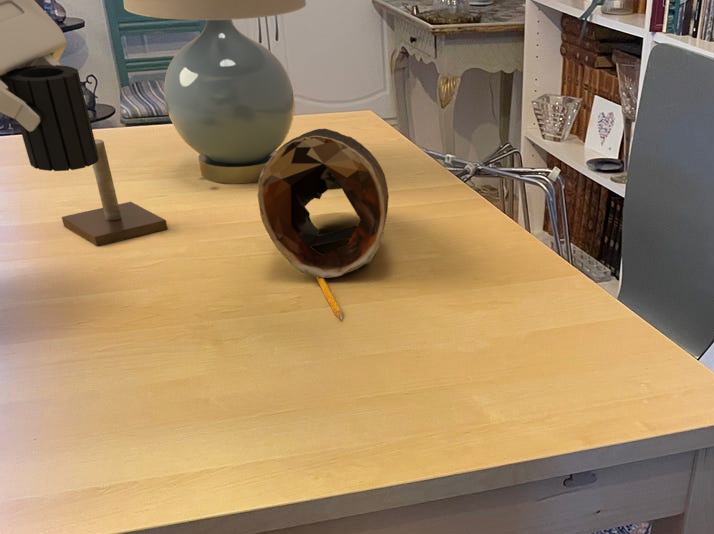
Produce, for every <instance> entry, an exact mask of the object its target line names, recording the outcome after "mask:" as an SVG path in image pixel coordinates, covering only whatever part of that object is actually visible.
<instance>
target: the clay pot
mask: <svg viewBox="0 0 714 534" xmlns="http://www.w3.org/2000/svg"><path fill="white" fill-rule="evenodd" d="M275 151H276V152H275V153H274V155H273V156H272V157H271V158H270V160H269V161H268V162H267V164H266V165H265V166H264V168H263V170H262V173H261V175H260V178H259V181H258V182H257V183H258V190H257V200H258V209H259V214H260V219H261V221H262V224H263V226H264V228H265V230H266V233H267V234H268V236H269V238H270V239H271V241H272V243H273V244H274V246H275V247H276V249H277V250H278V251H279V252H280V253H281V254H282V255H283V256H284V258H286V259H287V261H288V262H289V263H290V264H291V266H293V267H294V268H295V269H296V270H298V271H299V272H301V273H303V274H307V275H310V276H313V277H315V276H318V277H323V279H325V278H326V279H327V278H329V279H330V278H338V277H340V276H343V275H345V274H348V273H350V272H353V271H355V270H358V269H359V268H361V267H364V266H367V265H369V264H370V263H371V261H372V259H373V258H374V256H375V254H376V253H377V252H378V250H379V248H380V246H381V243H382V241H383V237H384V233H385V232H384V230H385V226H386V221H387V216H388V211H389V197H390V196H389V187H388V183H387V178H386V174H385V172H384V170H383V168H382V166H381V164H380V163H379V161H378V160H377V158H376V157H375V156H374V155H373V154H372V152H371V151H370V150H369V149H367V147H365V146H364V145H363V144H362V143H360V142H359V141H358V140H356V139H355V138H353V137H352V136H347V135H346V134H342V133H340V132H338V131H335V130H332V129H328V128H317V129H313V130H309V131H307V132H305V133H303V134H300V135H299V136H297V137H294V138H292V139H290V140H289V141H287V142H285V143H284V144H282V145H281V146H280V147H278V148H277V149H276V150H275ZM333 190H342V192H343V193H344V195H345V197H346V198H347V200H348V201H349V202H348V203H350V205H351V207H352V209H353V210H354V213H356V215H357V217H358V218H359V221H358V223H357V225H353V226H350V227H345V228H342V229H338V230H333V231H330V232H326V233H322V234H319V231H320V230H319V228H318V227H317V226H316V225H314V223H313V222H312V220H311V217H310V215H311V213H310V212H309V210H308V209H307V207H306V206H307V205H309V204H310V202H311V201H313V200H314V199H317V200H320V199H321V198H322V196H323V195H324V194H325V193H326V192H328V191H333ZM346 239H347V240H348V239H349V240H348V242H347V243H345V244H344V245H342V246H340V247H339V248H337V249H334V250H331V251H329V252H326V253H324V254H322V253H321V252H320V251H317V249H315V248H313V247H315V246H321V245H325V244H329V243H334V242H337V241H341V240H346Z"/></svg>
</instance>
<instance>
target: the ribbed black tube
mask: <svg viewBox="0 0 714 534" xmlns="http://www.w3.org/2000/svg"><path fill="white" fill-rule="evenodd" d="M5 78H6V81H7V85H8V91H9V92H11V93H12V94H14V95H15V96H17V97H18V98H20V99H21V100H23V101H24V102H26V103H27V102H31V103H33V104H34V105H35V106H36V107H37V109H38V110H40V111H41V112H42V113H43V114H44V116H45V119H44V121H43V122H42V124H41V126H40V127H39V128H37V129H35V130H34V131H31V132H30V131H28V130H27V129H25V128H24V127H23V126H22V125H21V124H20V123H19V122H18V121H17V123H18V126H19V130H20V133H21V137H22V140H23V143H24V147H25V150H26V154H27V158H28V161H29V164H30V167H32V168H33V169H38V170H40V171H46V172H47V171H48V172H51V171H54V172H68V171H69V170H71V171H75V170H80V169H85V168H86V167H90V166H93V164H95V163H96V162H98V159H99V156H98V152H97V148H96V143H95V140H96V139H95V135H94V132H93V127H92V123H91V119H90V115H89V110H88V107H87V102H86V99H85V94H84V89H83V85H82V81H81V78H80V74H79V70H78V69H77V68H75V67H73V66H68V65H62V64H60V65H56V66H54V65H39V66H38V67H37V66H29V67H22V68H17V69H14V70H12V71H9V72H7V73H6V75H5Z"/></svg>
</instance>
